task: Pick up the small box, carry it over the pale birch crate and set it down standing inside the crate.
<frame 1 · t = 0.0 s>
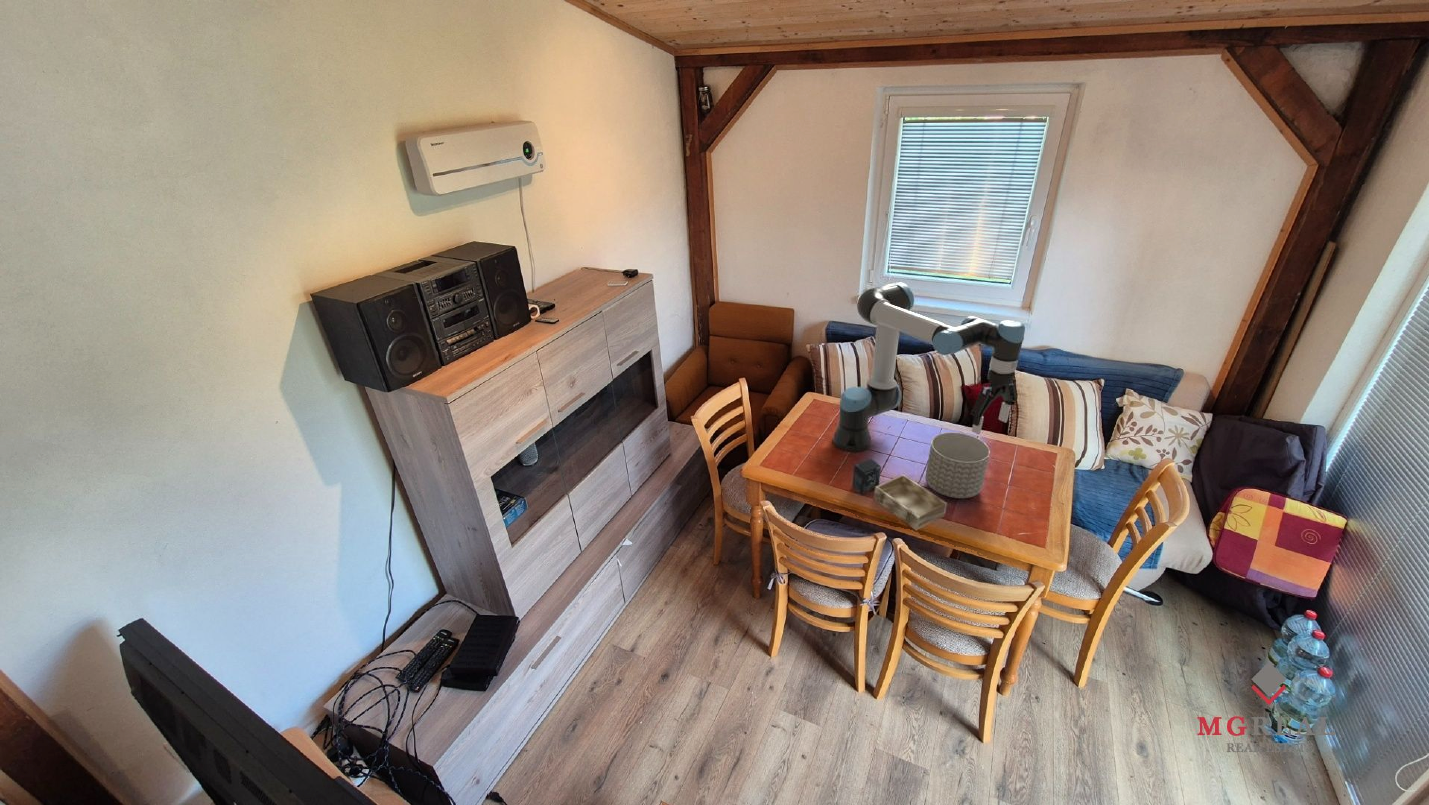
hand: (989, 426, 188), 28 cm above the table, fingers open, 13 cm apart
planter: (951, 488, 204), on the table
crate: (908, 507, 196), on the table
box: (865, 488, 206), on the table
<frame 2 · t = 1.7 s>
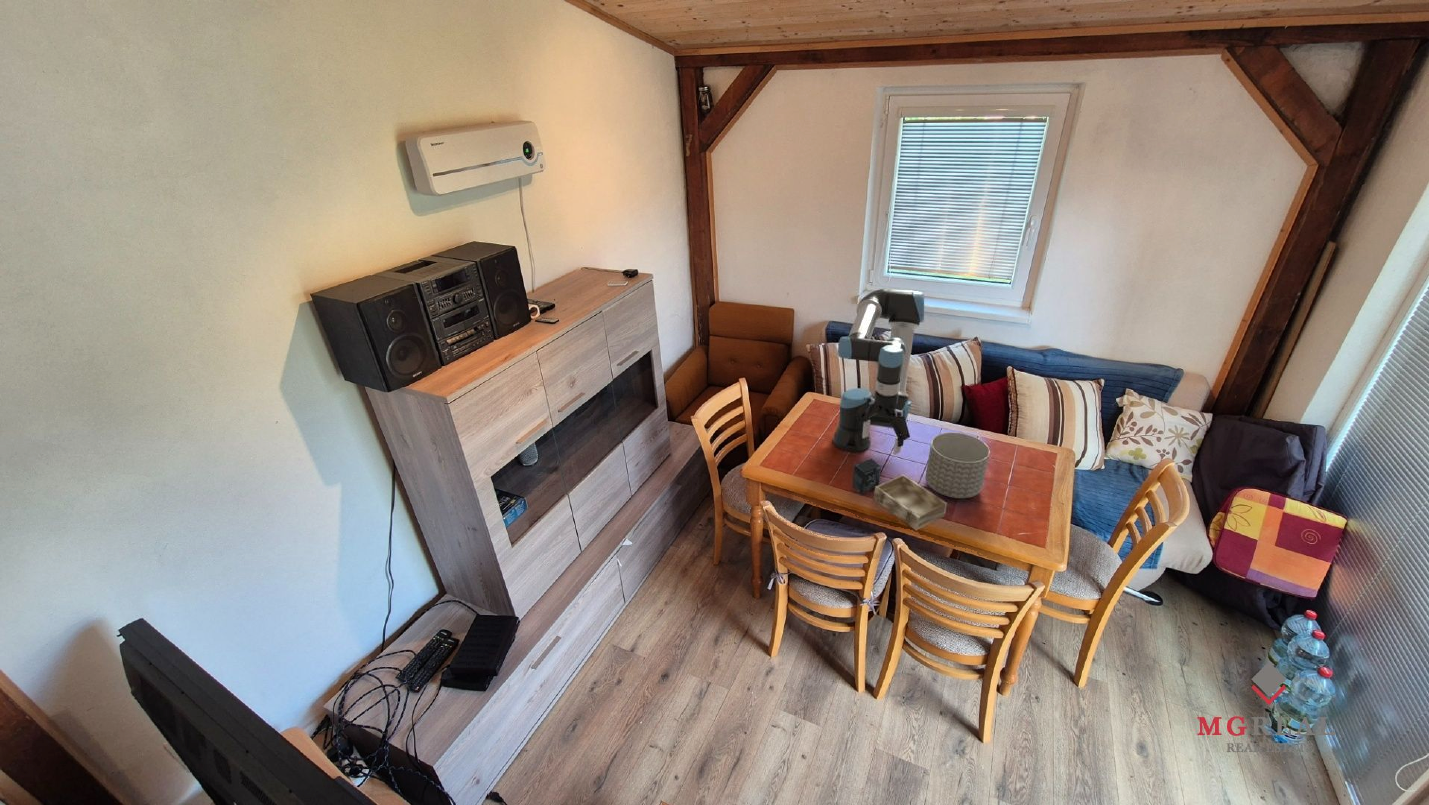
hand: (880, 444, 197), 19 cm above the table, fingers open, 13 cm apart
nothing on the table moved.
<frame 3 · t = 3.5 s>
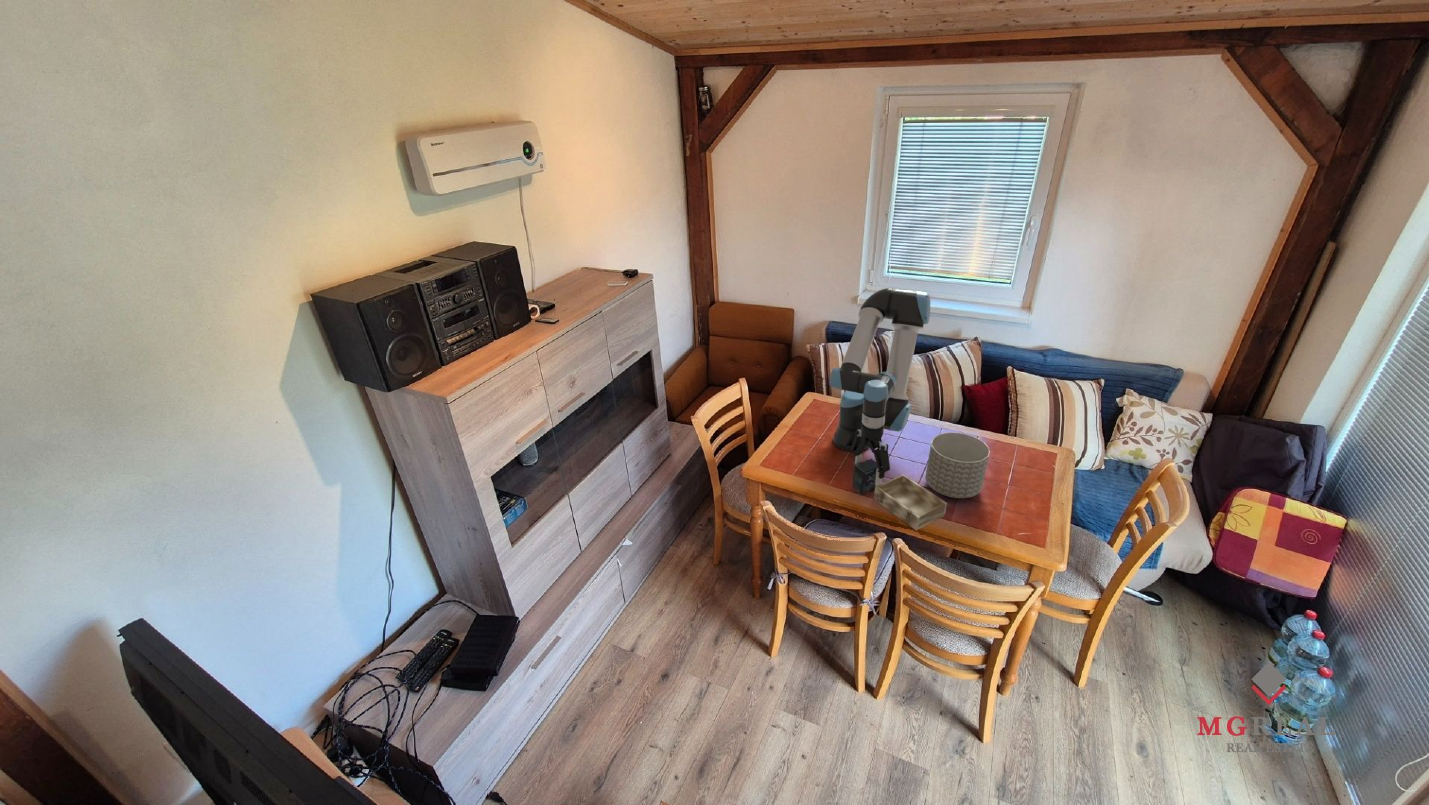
hand: (868, 477, 203), 6 cm above the table, fingers open, 10 cm apart
nothing on the table moved.
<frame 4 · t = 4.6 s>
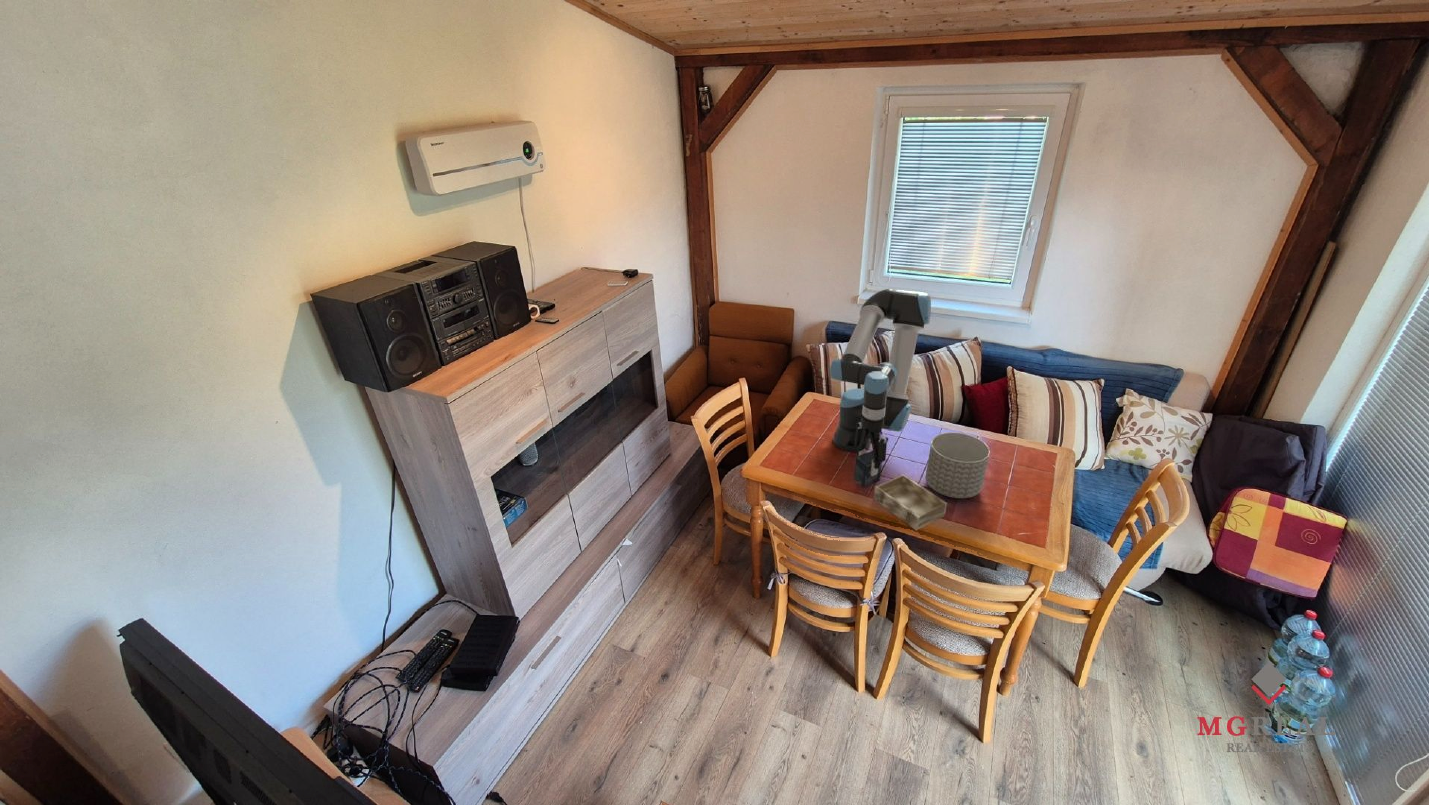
hand: (867, 469, 203), 8 cm above the table, fingers closed on box, 6 cm apart
box: (866, 481, 206), point 3 cm above the table, touching gripper
everything else where it was.
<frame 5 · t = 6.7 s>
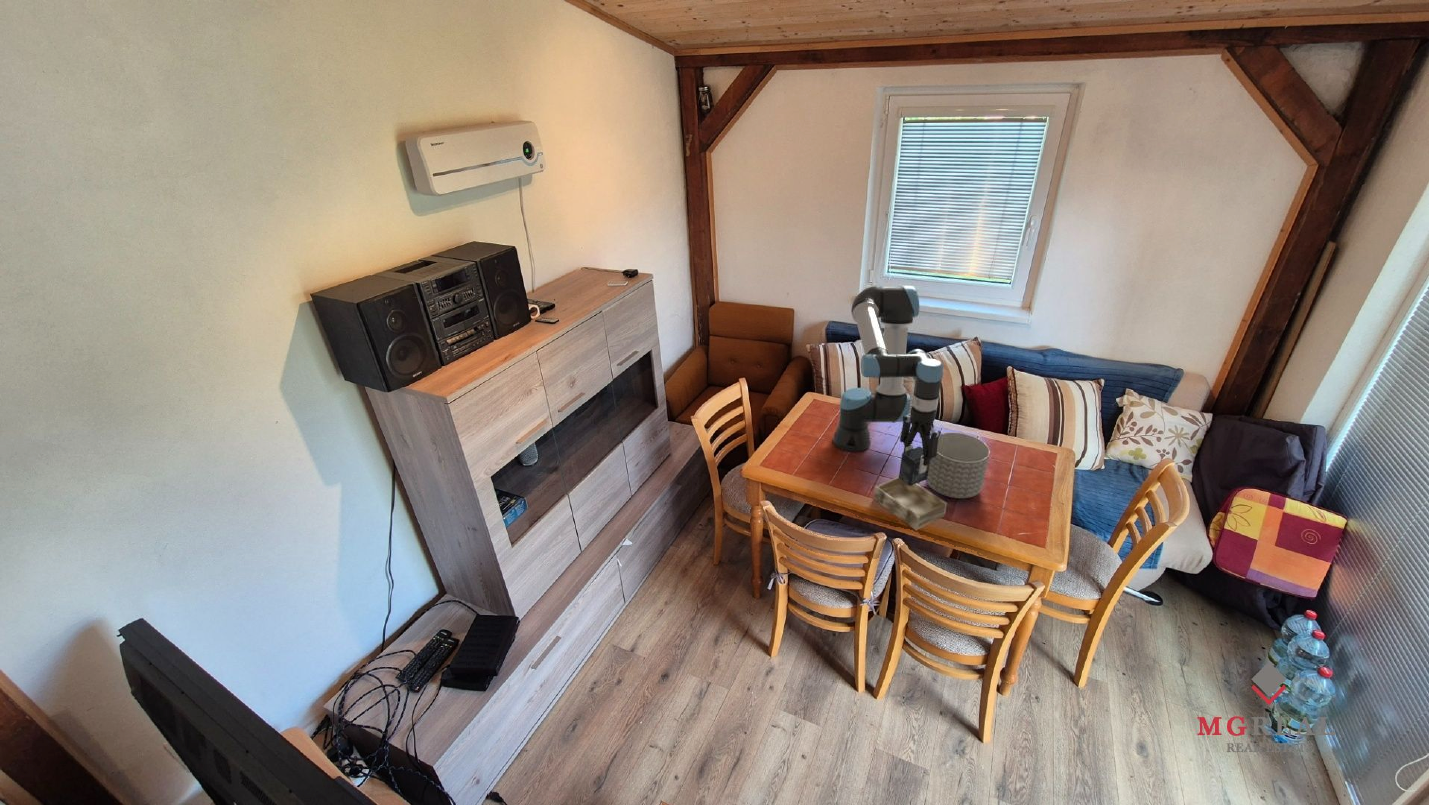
hand: (914, 466, 188), 17 cm above the table, fingers closed on box, 6 cm apart
box: (912, 479, 190), point 12 cm above the table, touching gripper
everything else where it was.
when the fingers open (7 cm above the table, at t = 8.6 s): box drops 1 cm, resting on crate.
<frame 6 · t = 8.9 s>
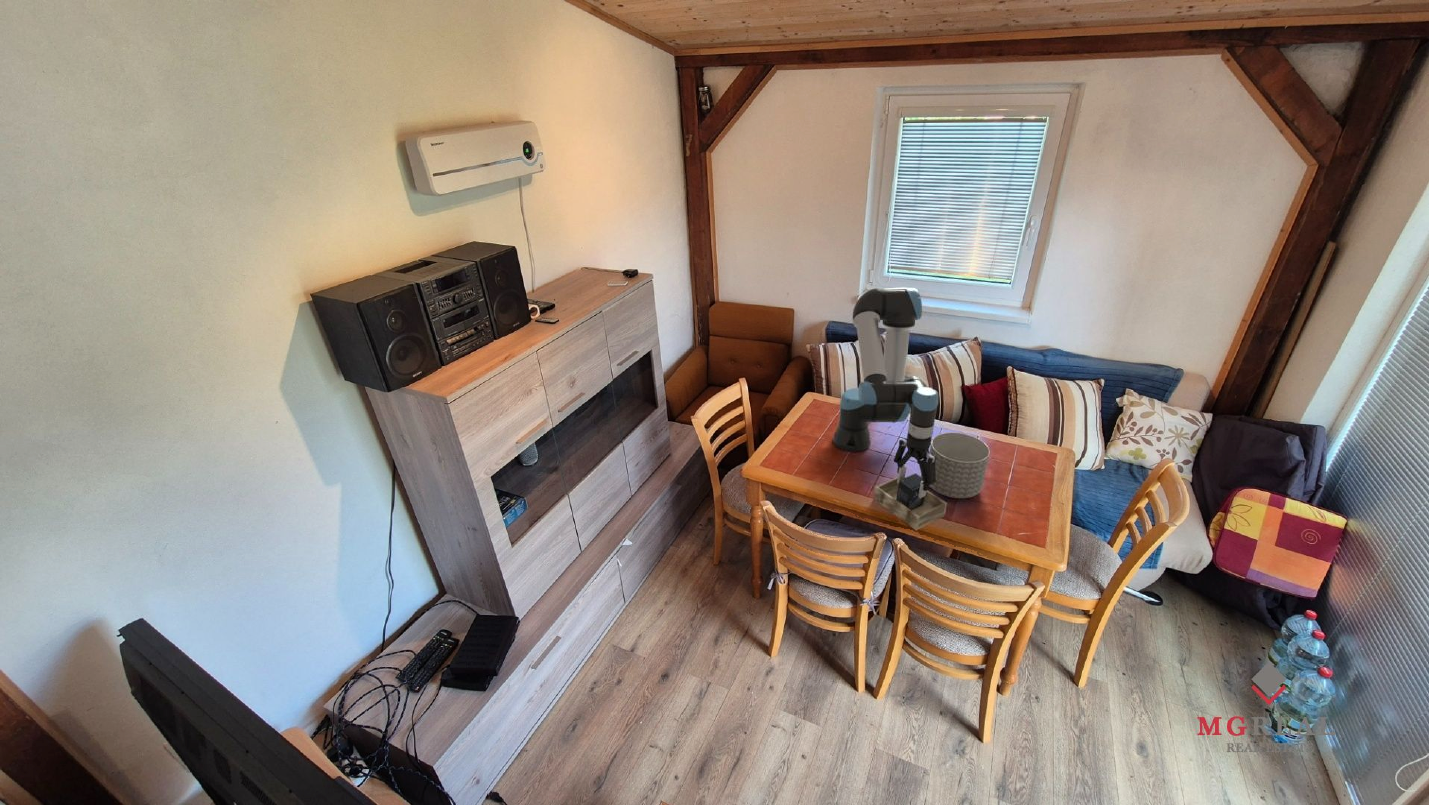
hand: (911, 489, 192), 8 cm above the table, fingers open, 9 cm apart
box: (909, 505, 196), point 1 cm above the table, touching crate
everything else where it was.
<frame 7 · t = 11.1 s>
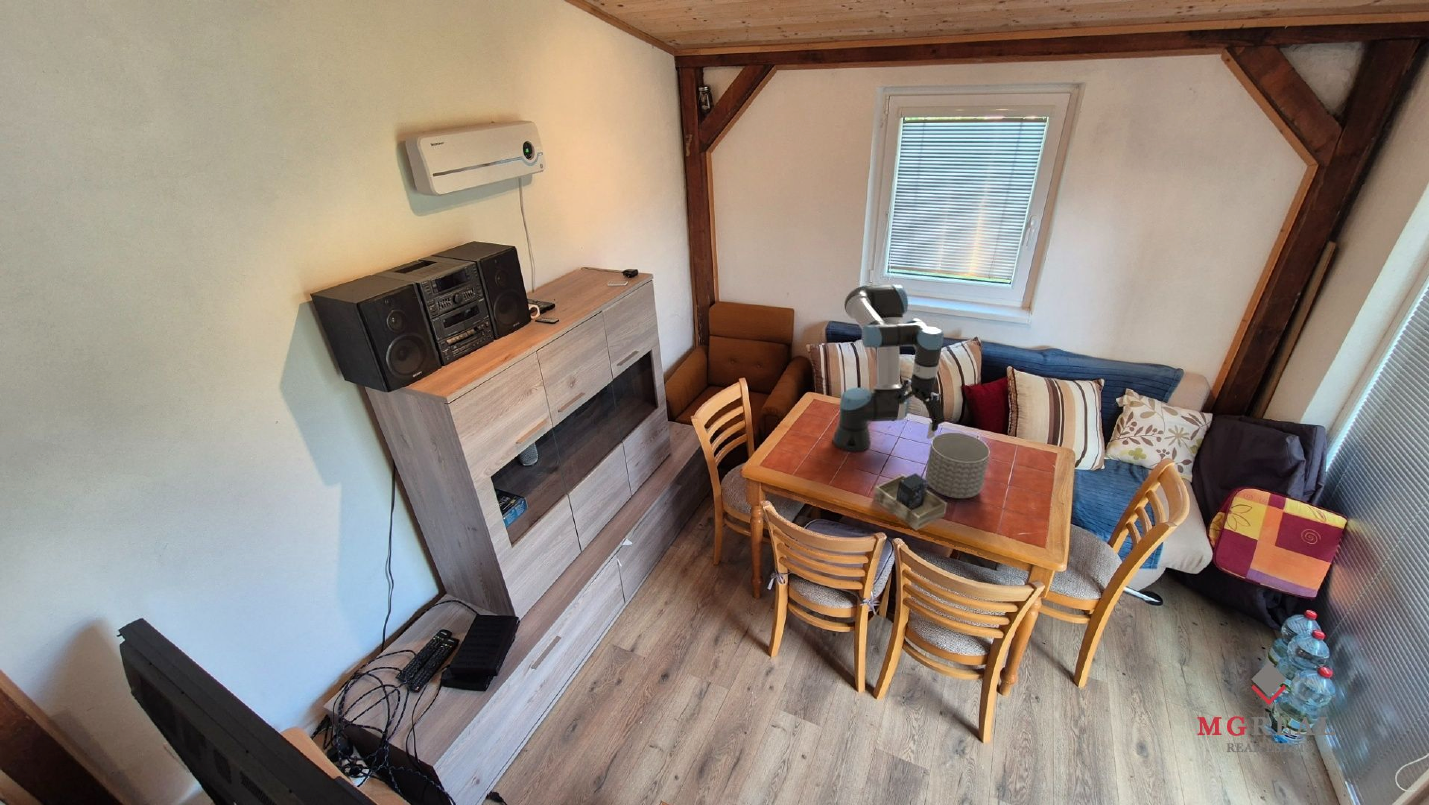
hand: (915, 427, 195), 25 cm above the table, fingers open, 13 cm apart
nothing on the table moved.
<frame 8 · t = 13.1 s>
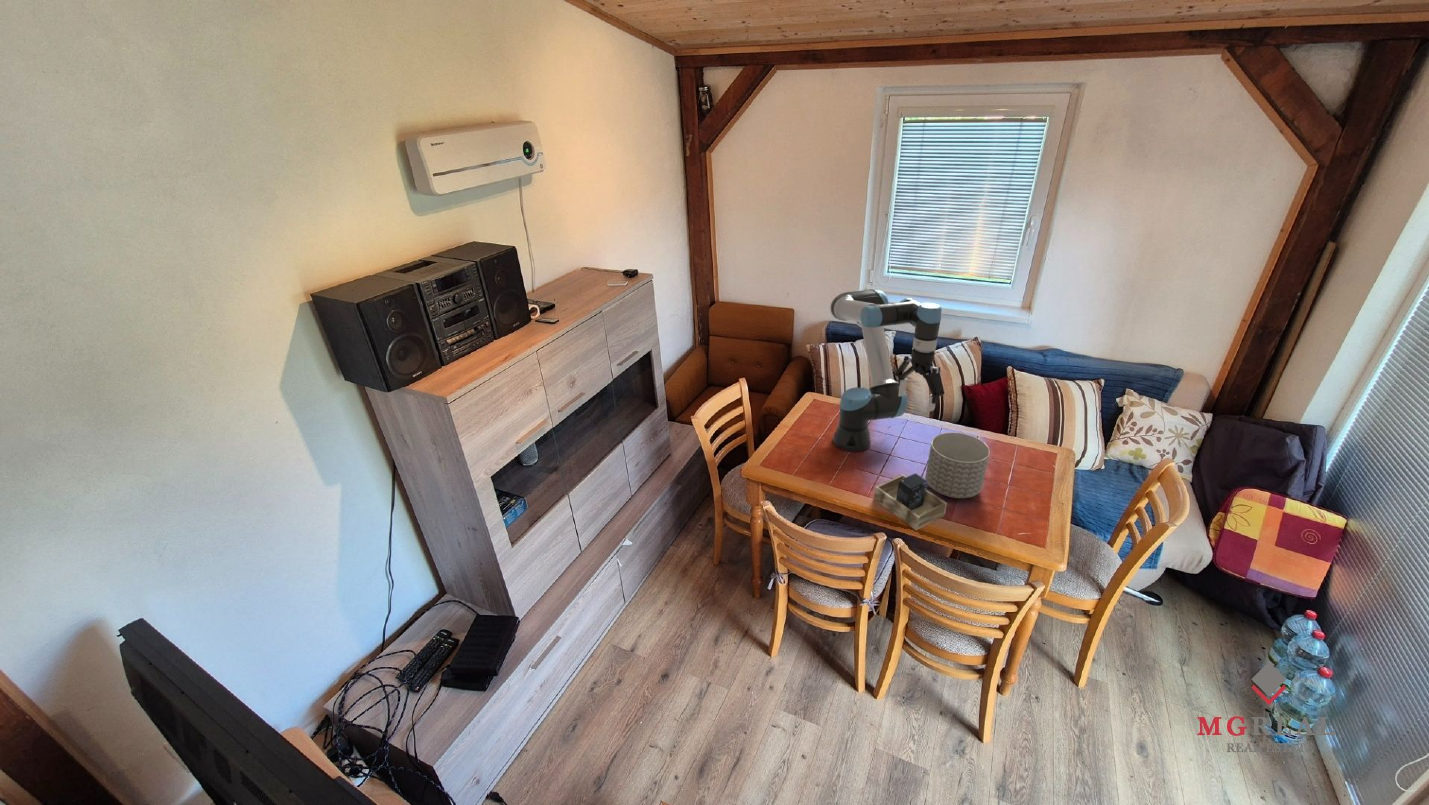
hand: (915, 402, 202), 29 cm above the table, fingers open, 13 cm apart
nothing on the table moved.
at the end: box inside the target area on the crate (0.2 cm from its centre), point 1.0 cm above the crate's base; box tilted 0°; the gripper is holding nothing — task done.
